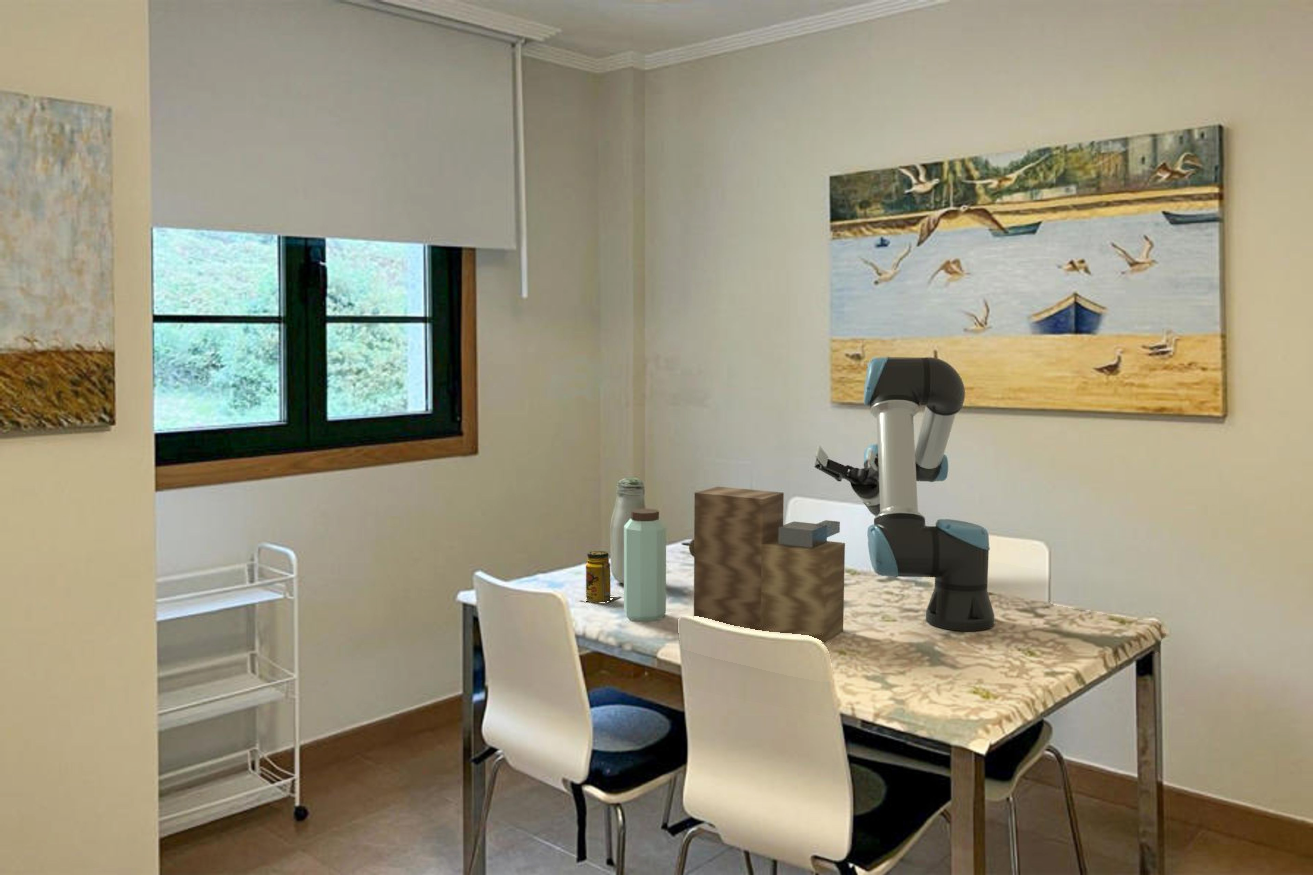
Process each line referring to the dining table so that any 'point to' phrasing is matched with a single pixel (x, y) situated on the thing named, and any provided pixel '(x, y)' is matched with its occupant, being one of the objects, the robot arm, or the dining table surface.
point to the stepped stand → (762, 568)
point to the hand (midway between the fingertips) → (842, 452)
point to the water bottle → (644, 566)
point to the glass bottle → (623, 520)
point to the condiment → (598, 577)
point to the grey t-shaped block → (807, 533)
